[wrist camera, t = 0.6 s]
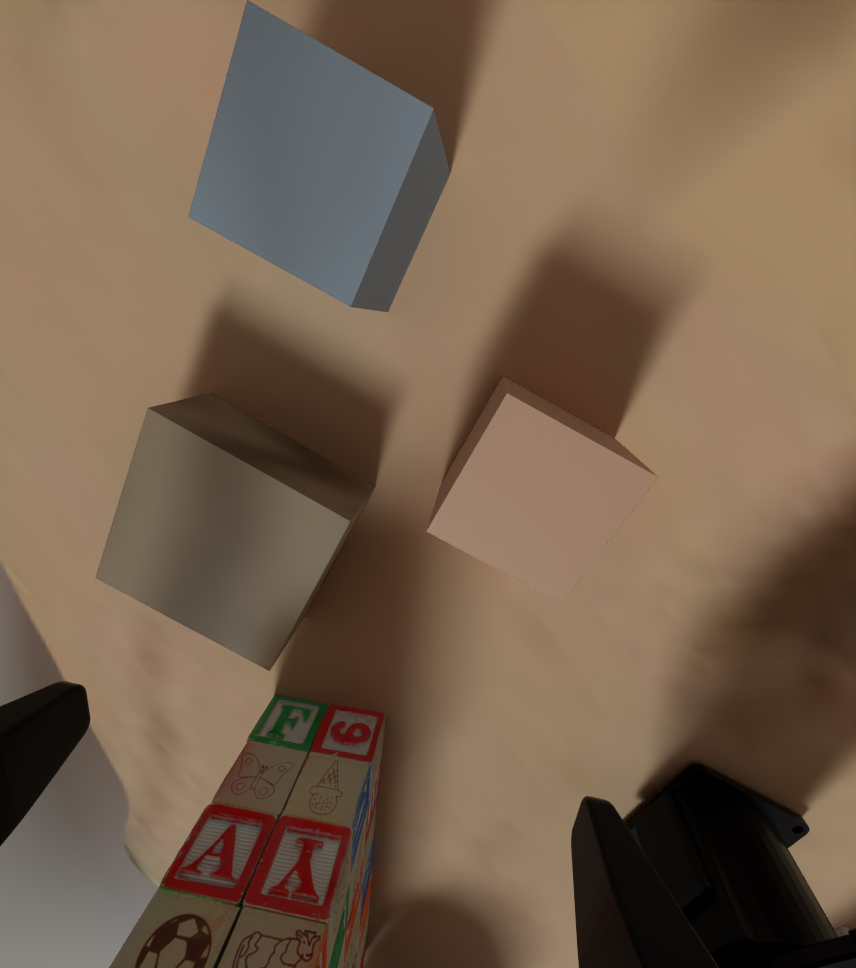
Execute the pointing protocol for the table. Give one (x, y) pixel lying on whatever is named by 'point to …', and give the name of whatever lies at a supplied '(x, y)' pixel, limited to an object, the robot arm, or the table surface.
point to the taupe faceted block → (228, 525)
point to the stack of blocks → (275, 852)
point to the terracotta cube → (537, 491)
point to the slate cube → (319, 164)
